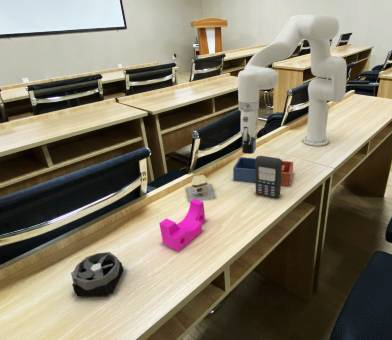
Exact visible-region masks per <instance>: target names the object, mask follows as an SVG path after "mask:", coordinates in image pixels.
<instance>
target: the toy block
mask: <svg viewBox="0 0 392 340" xmlns="http://www.w3.org/2000/svg"><path fill="white" fill-rule="evenodd" d="M205 222H206V213H205V203H204V201H203V200H197V199H193V200H192V201H190V202H189V207H188V210H187V213H186V215H185V216H184V217H183V219H182V220H181V221H179V222H178V223H176V221H174V220H171V219H169V218H164V219H163V220H161V221H160V222H159V223H158V224H159V230H160V233H161V234H160V235H161V240H162V244H163V245H164V246H167V247H169V248H171V249H173V250H175V251H177V252H180V251H181V250H182V249H183V248H185V246H187V245H188V244H189V243H191V241H193V240H194V239H196V238H197V236H199V235H200V234H201V233H202V232H203V228H202V227H203V226H202V225H203V224H204V223H205Z"/></svg>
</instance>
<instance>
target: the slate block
mask: <svg viewBox="0 0 392 340" xmlns="http://www.w3.org/2000/svg"><path fill="white" fill-rule="evenodd" d="M247 139H248V140H249V138H247ZM251 144H252V153H251V154H254V153H255V152H256V149H257V139H256V138H254V139H252V138H251ZM241 152H242V153H243V140H242V141H241ZM243 154H244V153H243Z"/></svg>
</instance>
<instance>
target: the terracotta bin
mask: <svg viewBox="0 0 392 340" xmlns="http://www.w3.org/2000/svg"><path fill="white" fill-rule="evenodd" d="M282 165H285V172H282V174H281V187H291V182H292V180H293V179H292V178H293V174H294V161H290V160H289V161H288V160H282Z"/></svg>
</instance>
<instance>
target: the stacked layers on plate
mask: <svg viewBox="0 0 392 340" xmlns="http://www.w3.org/2000/svg"><path fill="white" fill-rule="evenodd" d="M191 179H192V180H191V184H190V185H191V186H190V187H187V188H186V189H187V196H188V201H189V203H190V201H192V200H193V199H197V200H200V201H203V200H209V199H214V198H215V196H214V193H213V189H212V186H211V184H209V183H208V178H207V177H206V176H205V175H204V174H201V175H194V176H193V177H192V178H191Z"/></svg>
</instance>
